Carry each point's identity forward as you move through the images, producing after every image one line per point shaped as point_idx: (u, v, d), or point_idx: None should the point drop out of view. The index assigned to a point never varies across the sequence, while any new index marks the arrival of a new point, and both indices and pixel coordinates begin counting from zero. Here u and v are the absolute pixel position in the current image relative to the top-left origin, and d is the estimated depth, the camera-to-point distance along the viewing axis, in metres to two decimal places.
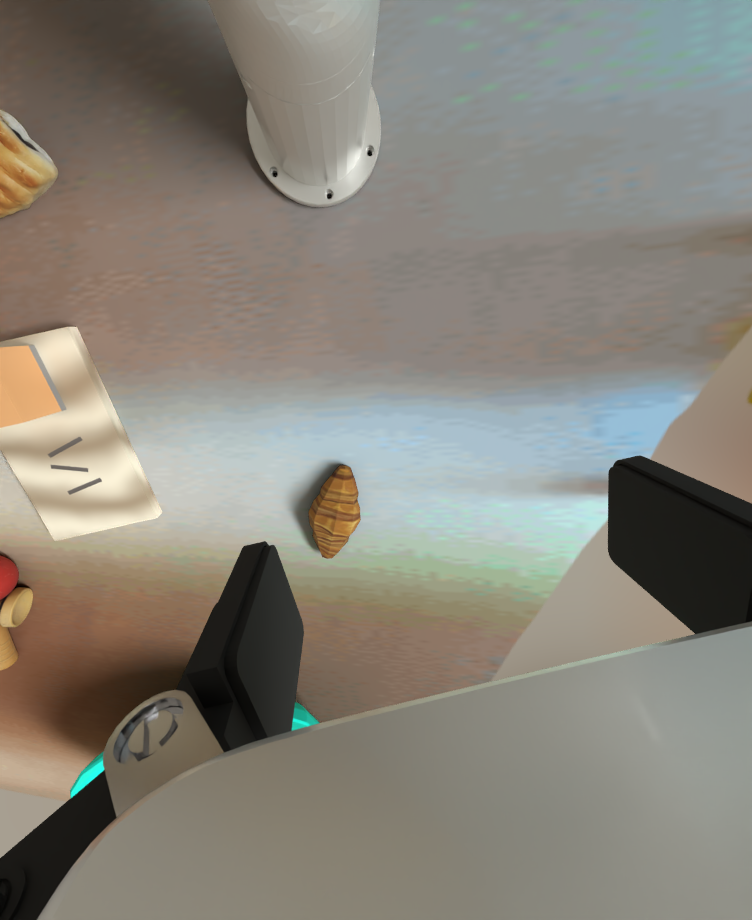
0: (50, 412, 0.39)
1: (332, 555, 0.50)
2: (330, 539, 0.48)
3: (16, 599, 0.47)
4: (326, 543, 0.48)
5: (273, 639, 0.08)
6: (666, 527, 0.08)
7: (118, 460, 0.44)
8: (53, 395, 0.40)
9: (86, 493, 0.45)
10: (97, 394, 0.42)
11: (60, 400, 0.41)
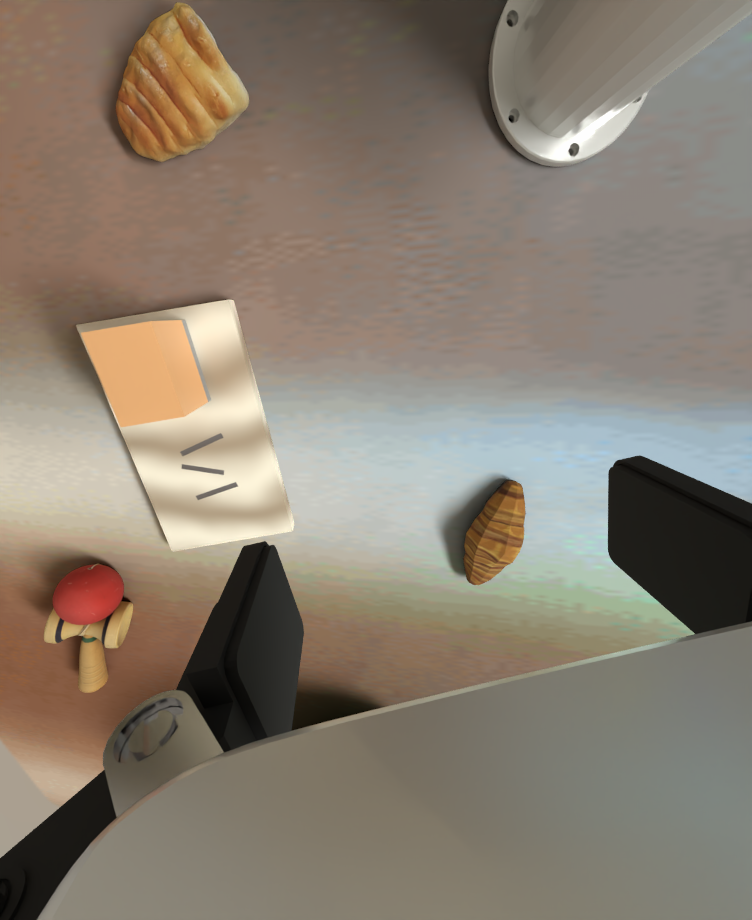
0: (201, 403, 0.32)
1: (482, 582, 0.43)
2: (490, 565, 0.41)
3: (122, 617, 0.41)
4: (482, 569, 0.42)
5: (273, 639, 0.08)
6: (666, 527, 0.08)
7: (260, 463, 0.37)
8: (201, 382, 0.33)
9: (217, 499, 0.38)
10: (250, 384, 0.34)
11: (206, 389, 0.34)
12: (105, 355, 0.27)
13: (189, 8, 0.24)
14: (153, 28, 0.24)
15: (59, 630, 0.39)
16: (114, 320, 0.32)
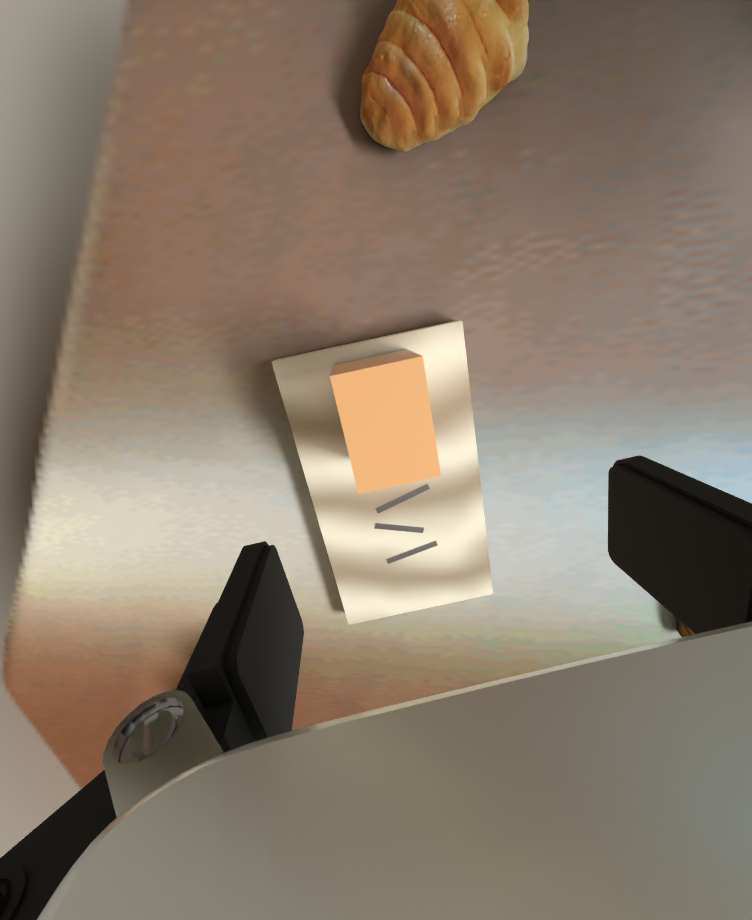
0: None
1: None
2: None
3: None
4: None
5: (273, 639, 0.08)
6: (666, 527, 0.08)
7: (468, 516, 0.30)
8: None
9: (410, 561, 0.31)
10: (471, 423, 0.28)
11: None
12: (356, 403, 0.20)
13: None
14: None
15: None
16: (319, 353, 0.25)
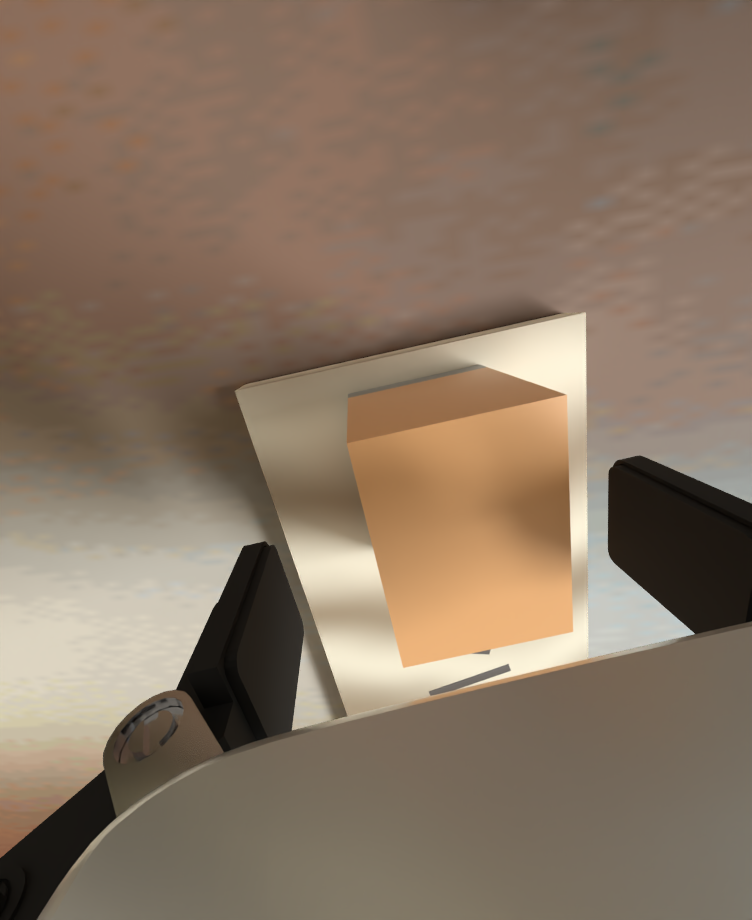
0: None
1: None
2: None
3: None
4: None
5: (273, 639, 0.08)
6: (666, 527, 0.08)
7: None
8: None
9: None
10: (582, 488, 0.16)
11: None
12: (405, 500, 0.09)
13: None
14: None
15: None
16: (322, 375, 0.14)
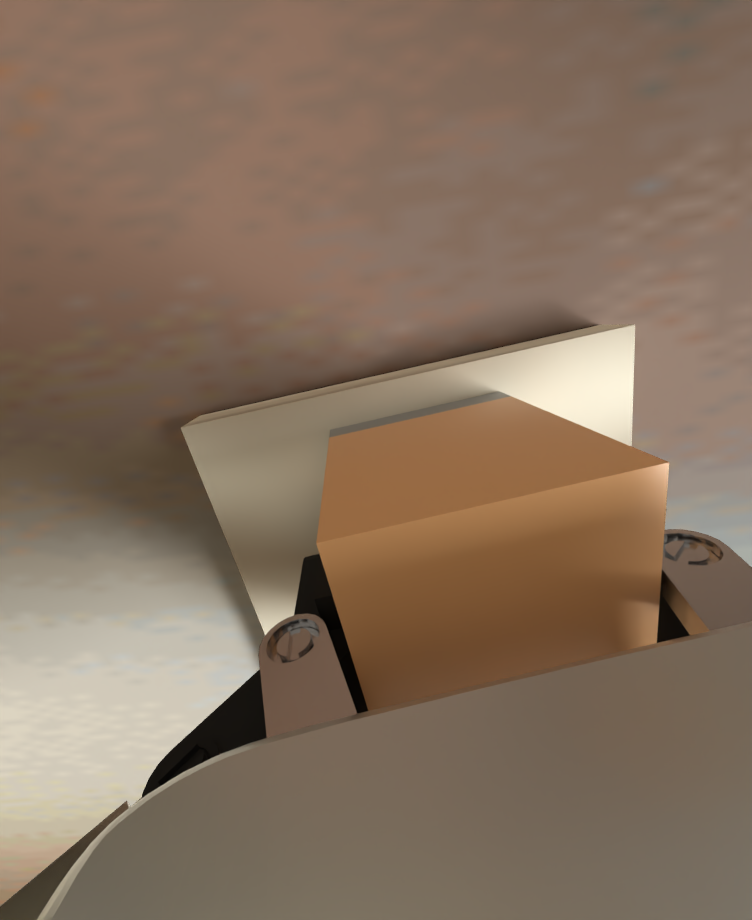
0: None
1: None
2: None
3: None
4: None
5: None
6: None
7: None
8: None
9: None
10: None
11: None
12: (411, 621, 0.06)
13: None
14: None
15: None
16: (296, 406, 0.10)
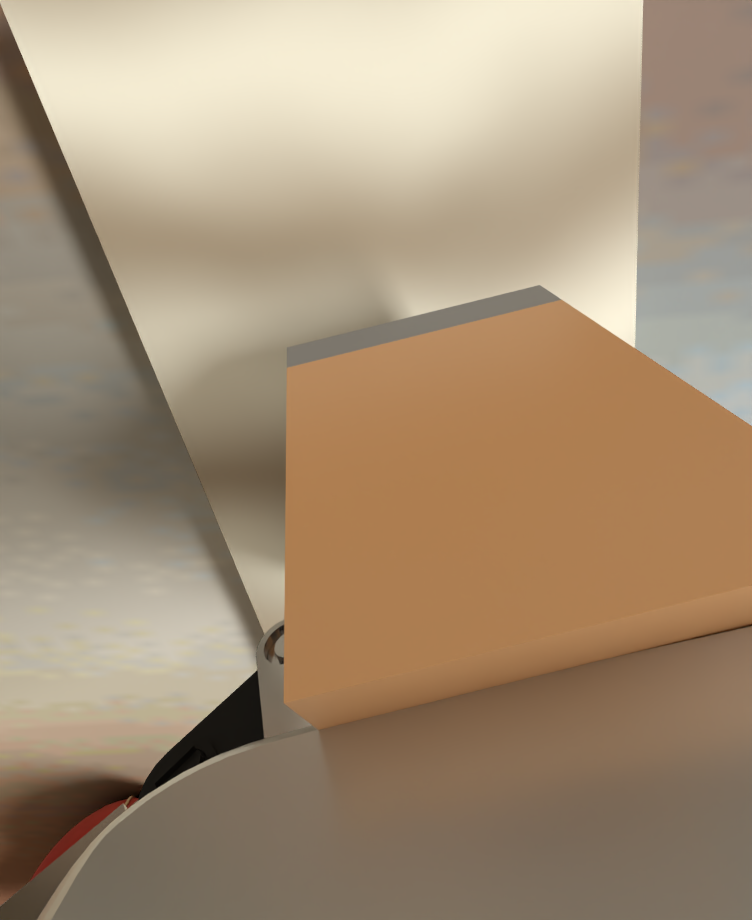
0: None
1: None
2: None
3: None
4: None
5: None
6: None
7: None
8: None
9: None
10: (629, 241, 0.10)
11: None
12: None
13: None
14: None
15: None
16: None
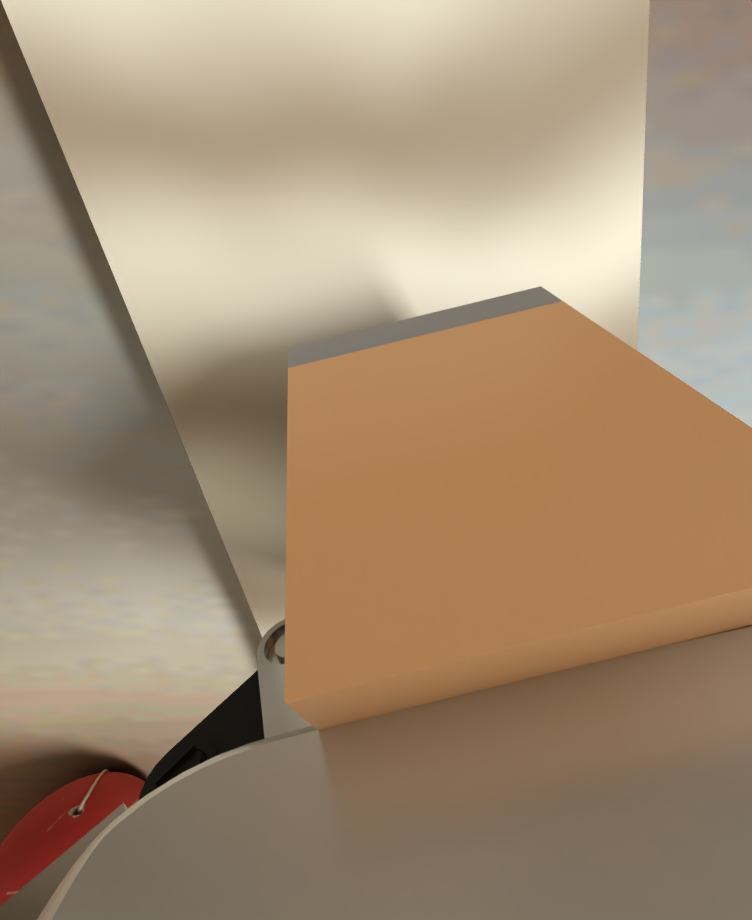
0: None
1: None
2: None
3: None
4: None
5: None
6: None
7: None
8: None
9: None
10: (635, 149, 0.09)
11: None
12: None
13: None
14: None
15: None
16: None
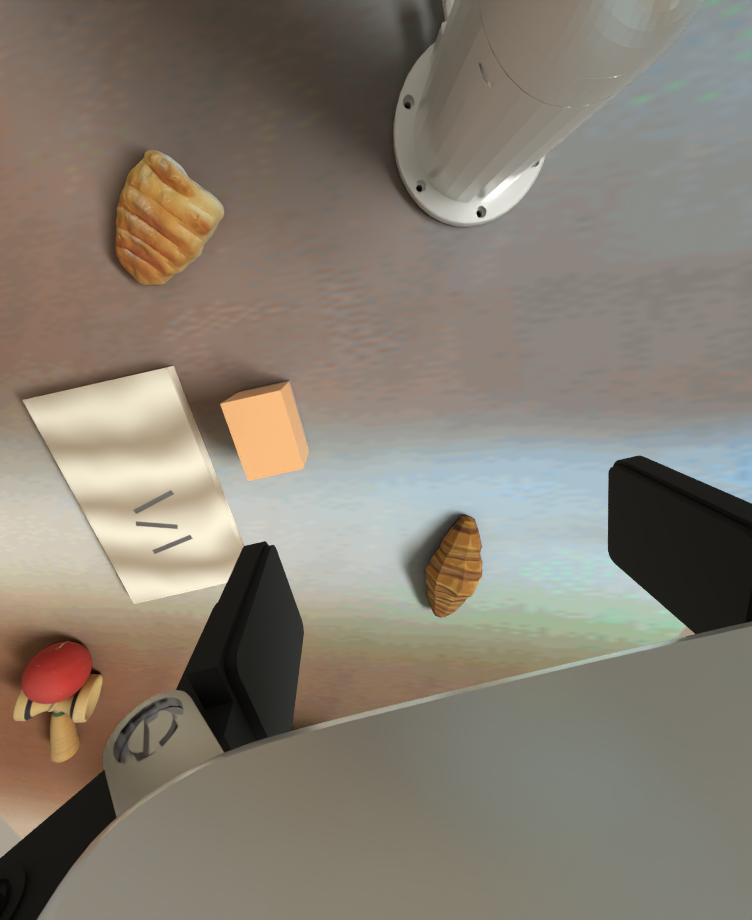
0: (306, 453, 0.36)
1: (447, 614, 0.45)
2: (451, 599, 0.42)
3: (90, 692, 0.43)
4: (444, 603, 0.43)
5: (273, 639, 0.08)
6: (666, 527, 0.08)
7: (212, 515, 0.38)
8: (304, 434, 0.37)
9: (173, 552, 0.39)
10: (194, 443, 0.36)
11: (306, 438, 0.38)
12: (239, 421, 0.31)
13: (157, 153, 0.27)
14: (132, 179, 0.28)
15: (28, 709, 0.41)
16: (59, 393, 0.33)
